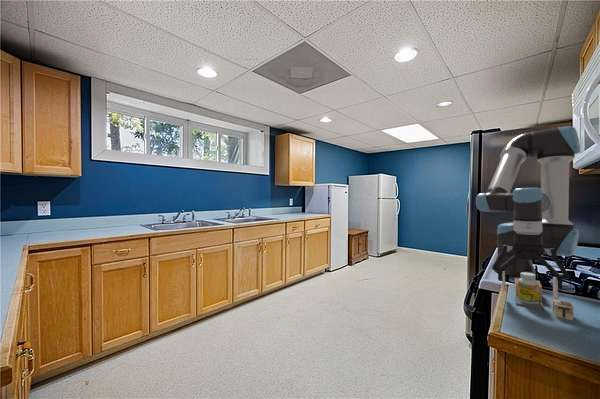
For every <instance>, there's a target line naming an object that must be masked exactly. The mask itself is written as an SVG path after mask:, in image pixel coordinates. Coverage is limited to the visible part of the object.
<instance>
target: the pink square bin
mask: <svg viewBox="0 0 600 399" xmlns="http://www.w3.org/2000/svg"><path fill="white" fill-rule="evenodd" d="M520 278H521V277H514V292H515V296H518V280H519V279H520ZM536 281H537V282H538V284H539V300H541V302H543V286H542V284H541V282H540V280H536Z"/></svg>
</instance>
